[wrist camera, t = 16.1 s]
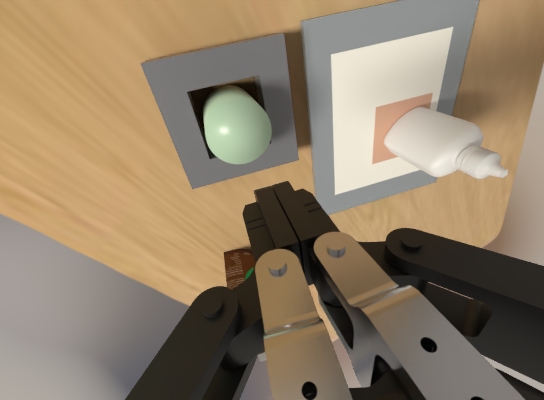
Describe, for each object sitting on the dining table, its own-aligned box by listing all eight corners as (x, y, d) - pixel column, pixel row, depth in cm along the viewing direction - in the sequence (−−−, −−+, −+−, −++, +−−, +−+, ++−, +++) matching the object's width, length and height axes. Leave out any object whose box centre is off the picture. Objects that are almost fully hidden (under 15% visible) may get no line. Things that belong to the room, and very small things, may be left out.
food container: (283, 283, 41) (306, 345, 33) (247, 297, 40) (261, 363, 32) (264, 228, 34) (286, 290, 26) (219, 245, 33) (228, 312, 25)
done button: (195, 92, 22) (195, 107, 17) (250, 79, 23) (265, 91, 18) (212, 145, 25) (216, 171, 20) (260, 132, 26) (276, 155, 21)
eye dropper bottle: (423, 136, 31) (527, 182, 22) (382, 154, 31) (468, 208, 21) (425, 102, 29) (544, 135, 19) (380, 120, 29) (477, 164, 19)
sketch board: (300, 21, 22) (303, 20, 22) (477, -16, 24) (484, -17, 24) (316, 215, 35) (318, 218, 34) (432, 180, 37) (436, 182, 36)
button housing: (146, 60, 21) (140, 63, 18) (274, 33, 22) (284, 33, 20) (192, 175, 27) (192, 189, 25) (289, 149, 28) (298, 159, 26)
